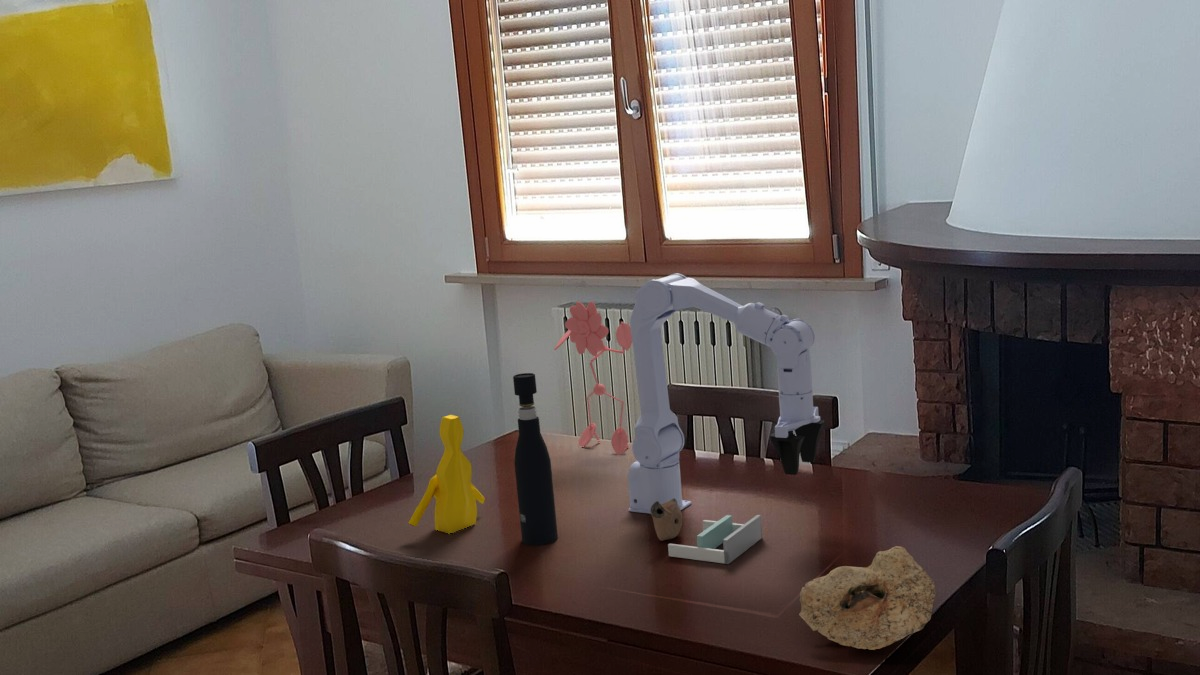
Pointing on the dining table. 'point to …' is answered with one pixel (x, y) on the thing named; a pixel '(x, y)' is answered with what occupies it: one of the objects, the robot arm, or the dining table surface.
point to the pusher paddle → (715, 533)
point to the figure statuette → (451, 484)
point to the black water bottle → (533, 470)
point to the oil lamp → (666, 519)
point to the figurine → (588, 335)
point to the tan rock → (870, 601)
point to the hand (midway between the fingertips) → (800, 467)
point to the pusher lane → (732, 544)
